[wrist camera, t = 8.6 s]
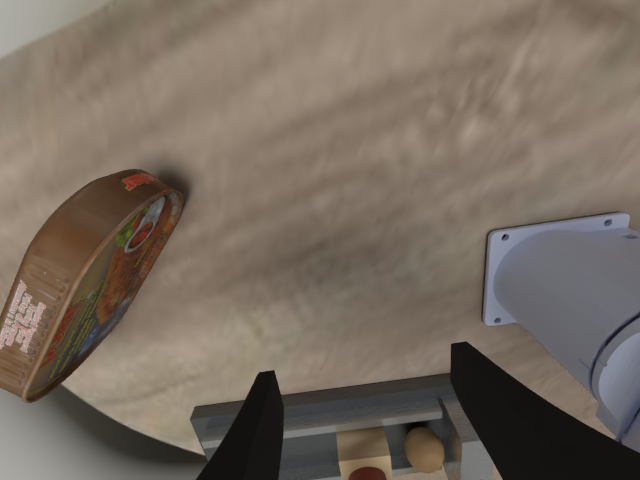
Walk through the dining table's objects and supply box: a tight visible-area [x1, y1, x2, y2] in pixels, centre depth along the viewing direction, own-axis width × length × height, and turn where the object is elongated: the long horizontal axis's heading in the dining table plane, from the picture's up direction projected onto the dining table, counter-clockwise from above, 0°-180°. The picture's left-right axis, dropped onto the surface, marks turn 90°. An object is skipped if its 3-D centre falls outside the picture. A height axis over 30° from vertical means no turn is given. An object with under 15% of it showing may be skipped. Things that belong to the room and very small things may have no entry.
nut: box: [404, 427, 444, 473], centre depth 25 cm, size 3×3×3 cm
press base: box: [190, 373, 493, 480], centre depth 26 cm, size 24×10×5 cm, turn 98°
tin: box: [0, 169, 184, 403], centre depth 17 cm, size 15×3×8 cm, turn 144°
